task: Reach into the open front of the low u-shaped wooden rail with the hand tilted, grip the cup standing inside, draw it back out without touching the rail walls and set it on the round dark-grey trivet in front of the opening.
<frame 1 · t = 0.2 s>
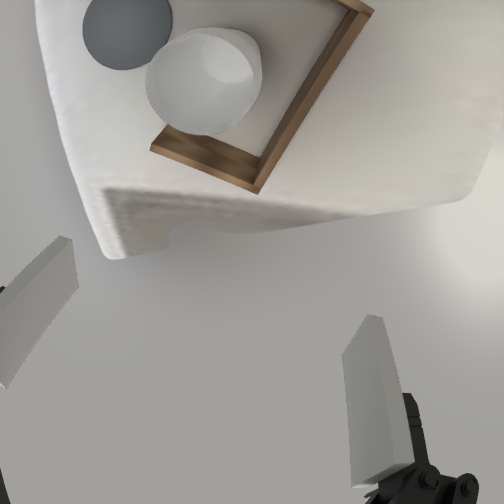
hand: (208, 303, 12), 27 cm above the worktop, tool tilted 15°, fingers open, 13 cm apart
cup: (230, 55, 28), on the worktop
trivet: (125, 24, 25), on the worktop
u-shaped wooden rail: (230, 56, 28), on the worktop
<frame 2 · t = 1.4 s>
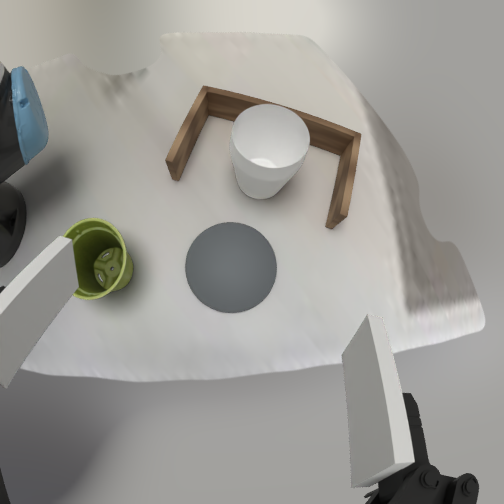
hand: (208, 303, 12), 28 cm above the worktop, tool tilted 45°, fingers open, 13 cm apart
cup: (259, 179, 43), on the worktop
trivet: (230, 267, 40), on the worktop
plant pot: (114, 269, 39), on the worktop
u-shaped wooden rail: (259, 178, 43), on the worktop
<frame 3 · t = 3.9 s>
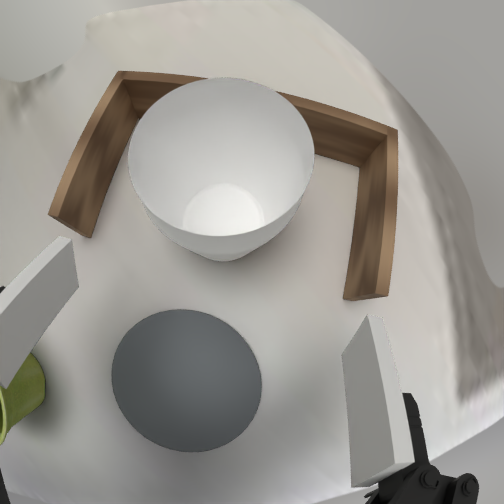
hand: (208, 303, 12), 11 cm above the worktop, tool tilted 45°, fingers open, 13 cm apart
cup: (223, 222, 25), on the worktop
trivet: (184, 384, 22), on the worktop
plant pot: (25, 377, 21), on the worktop
u-shaped wooden rail: (223, 221, 25), on the worktop
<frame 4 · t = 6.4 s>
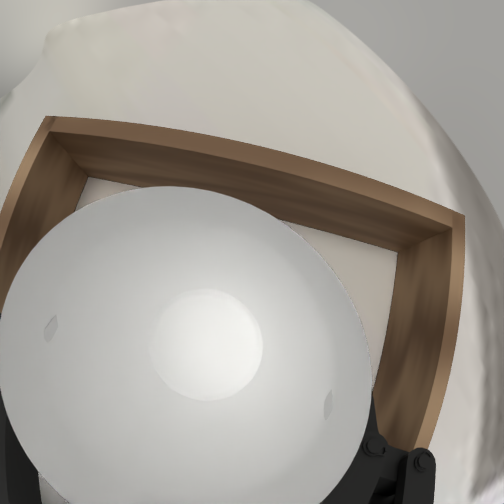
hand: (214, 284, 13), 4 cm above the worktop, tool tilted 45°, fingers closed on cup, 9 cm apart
cup: (205, 345, 17), on the worktop, touching gripper
u-shaped wooden rail: (204, 346, 17), on the worktop
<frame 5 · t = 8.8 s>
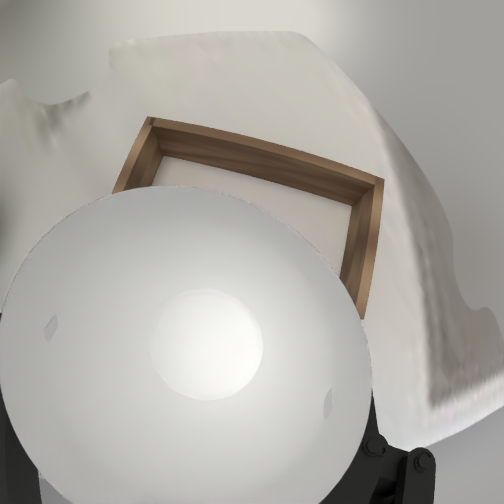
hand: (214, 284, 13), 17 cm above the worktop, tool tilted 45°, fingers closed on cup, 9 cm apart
cup: (205, 345, 17), point 12 cm above the worktop, touching gripper
u-shaped wooden rail: (236, 251, 31), on the worktop
when the fingers open (7 cm above the worktop, at t = 11.6 s): cup drops 2 cm, resting on trivet.
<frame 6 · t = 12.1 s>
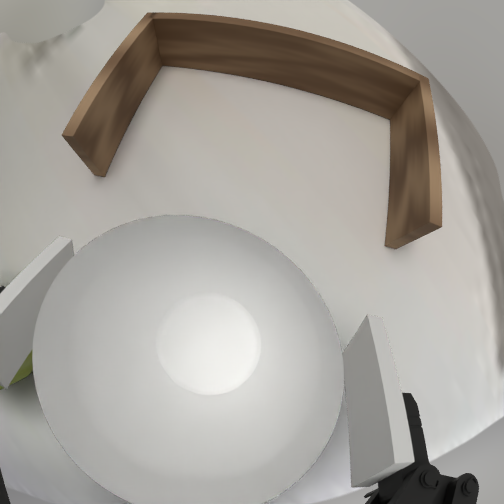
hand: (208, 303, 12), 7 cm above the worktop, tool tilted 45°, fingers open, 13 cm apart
cup: (208, 344, 19), resting on trivet
plant pot: (14, 341, 18), on the worktop
u-shaped wooden rail: (255, 159, 22), on the worktop
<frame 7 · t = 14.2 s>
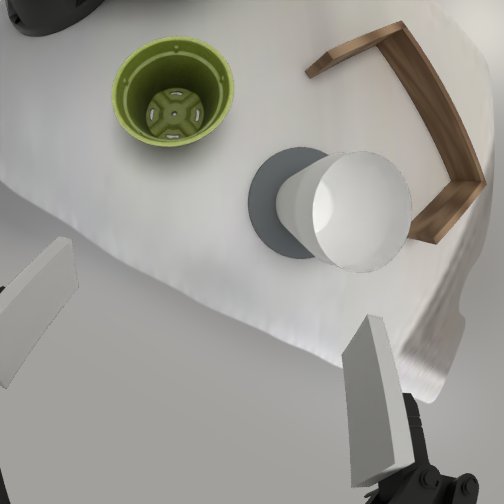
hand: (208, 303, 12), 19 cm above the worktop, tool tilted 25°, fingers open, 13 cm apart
cup: (304, 204, 32), resting on trivet
trivet: (303, 203, 32), on the worktop
plant pot: (175, 115, 28), on the worktop
u-shaped wooden rail: (383, 140, 33), on the worktop
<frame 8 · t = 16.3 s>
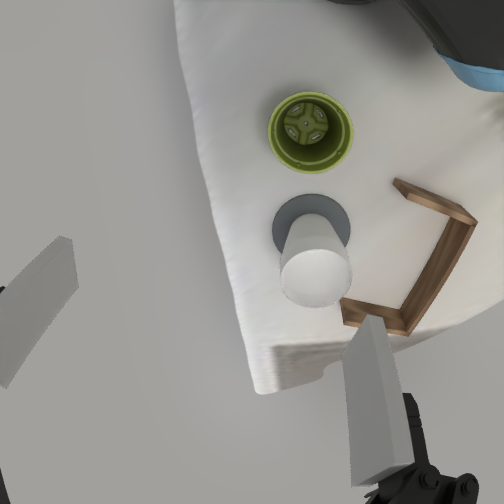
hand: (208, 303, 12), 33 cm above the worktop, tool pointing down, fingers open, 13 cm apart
cup: (311, 232, 46), resting on trivet
trivet: (311, 230, 46), on the worktop
plant pot: (306, 123, 38), on the worktop
u-shaped wooden rail: (387, 251, 46), on the worktop
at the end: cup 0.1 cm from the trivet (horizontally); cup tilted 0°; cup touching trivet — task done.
